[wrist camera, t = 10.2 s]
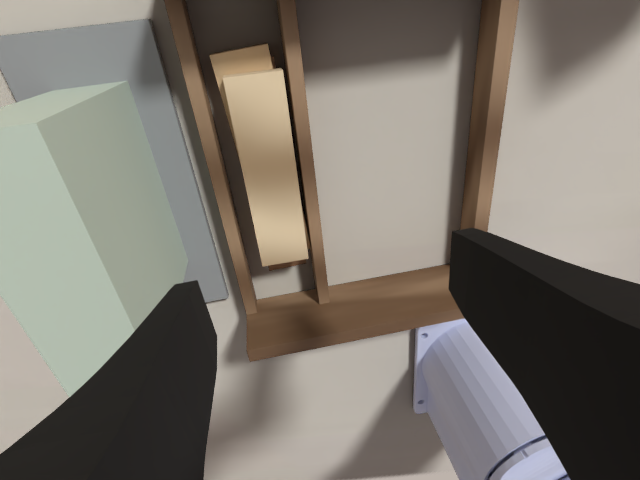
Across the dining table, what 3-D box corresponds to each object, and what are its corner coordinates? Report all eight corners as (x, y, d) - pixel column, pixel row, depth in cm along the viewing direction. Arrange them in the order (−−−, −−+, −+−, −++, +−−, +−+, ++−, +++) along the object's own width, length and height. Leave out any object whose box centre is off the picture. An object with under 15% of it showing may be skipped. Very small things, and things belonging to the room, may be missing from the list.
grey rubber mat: (228, 294, 22) (228, 298, 22) (123, 313, 22) (121, 318, 21) (150, 18, 15) (148, 18, 15) (-9, 37, 15) (-15, 37, 14)
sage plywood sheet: (188, 260, 20) (158, 380, 13) (130, 270, 20) (70, 399, 13) (127, 80, 16) (35, 122, 9) (52, 90, 15) (-104, 142, 9)
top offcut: (306, 248, 20) (308, 258, 20) (261, 256, 20) (262, 266, 19) (281, 67, 16) (283, 70, 15) (223, 75, 16) (222, 77, 15)
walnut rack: (467, 270, 24) (503, 310, 21) (249, 312, 23) (249, 361, 20) (506, -68, 16) (578, -94, 12) (160, -32, 14) (134, -51, 11)
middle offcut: (308, 239, 21) (310, 248, 21) (266, 249, 21) (267, 258, 20) (266, 42, 16) (267, 43, 15) (211, 54, 16) (209, 55, 15)
